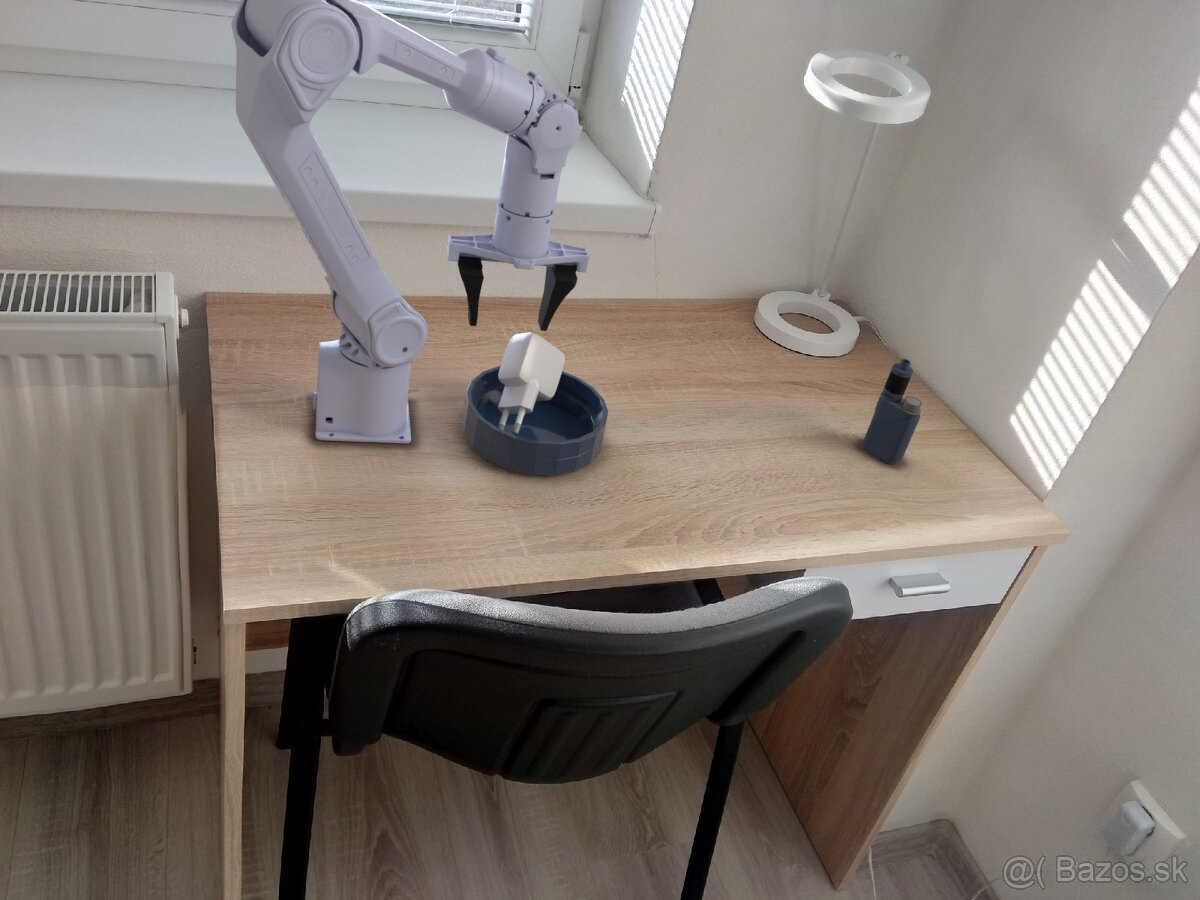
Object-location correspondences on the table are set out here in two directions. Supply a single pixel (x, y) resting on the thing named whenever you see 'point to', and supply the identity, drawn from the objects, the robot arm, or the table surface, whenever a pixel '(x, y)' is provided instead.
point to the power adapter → (528, 375)
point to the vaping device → (893, 417)
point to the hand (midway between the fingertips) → (507, 323)
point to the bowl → (536, 426)
